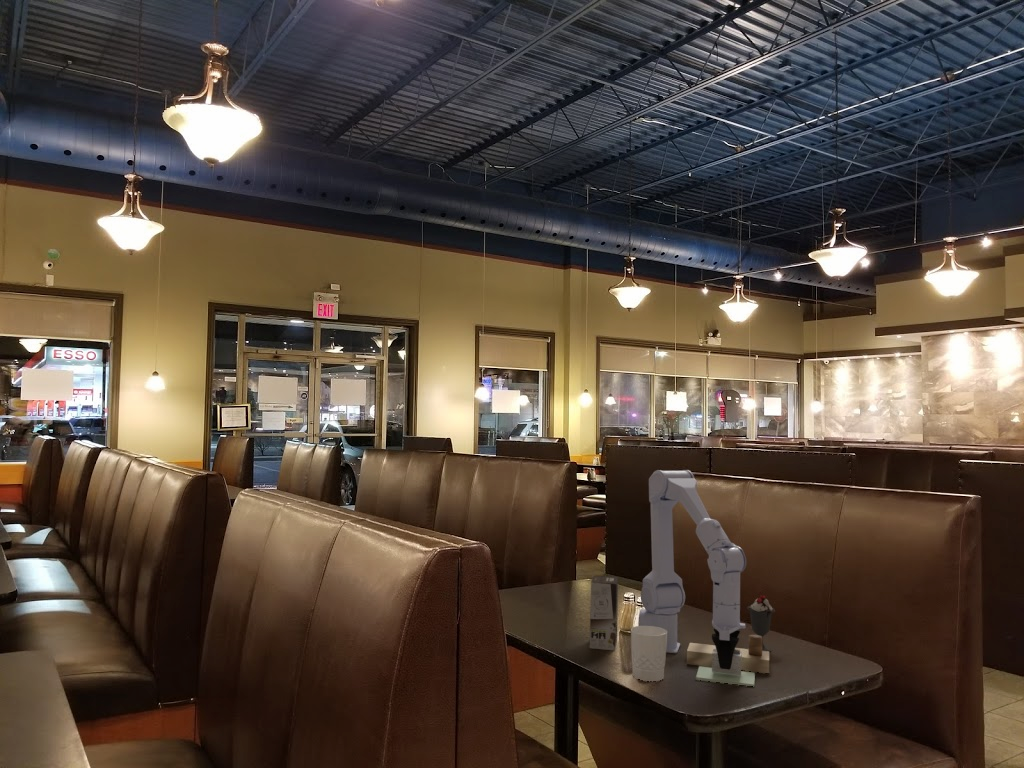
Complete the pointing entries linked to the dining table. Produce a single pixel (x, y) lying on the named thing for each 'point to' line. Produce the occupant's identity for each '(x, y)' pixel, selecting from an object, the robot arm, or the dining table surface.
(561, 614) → the dining table surface
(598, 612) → the coffee box
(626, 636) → the dining table surface
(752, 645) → the panel with round knob
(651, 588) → the robot arm
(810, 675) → the dining table surface
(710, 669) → the board
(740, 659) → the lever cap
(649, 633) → the white cup
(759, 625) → the sundae
